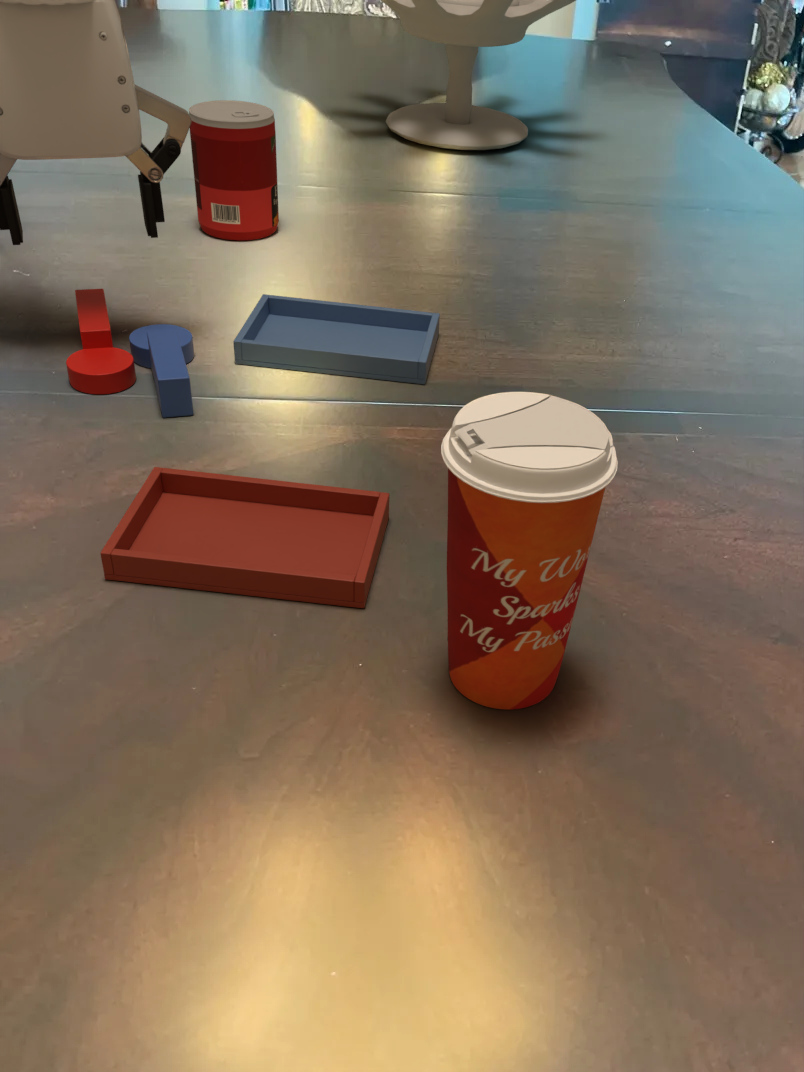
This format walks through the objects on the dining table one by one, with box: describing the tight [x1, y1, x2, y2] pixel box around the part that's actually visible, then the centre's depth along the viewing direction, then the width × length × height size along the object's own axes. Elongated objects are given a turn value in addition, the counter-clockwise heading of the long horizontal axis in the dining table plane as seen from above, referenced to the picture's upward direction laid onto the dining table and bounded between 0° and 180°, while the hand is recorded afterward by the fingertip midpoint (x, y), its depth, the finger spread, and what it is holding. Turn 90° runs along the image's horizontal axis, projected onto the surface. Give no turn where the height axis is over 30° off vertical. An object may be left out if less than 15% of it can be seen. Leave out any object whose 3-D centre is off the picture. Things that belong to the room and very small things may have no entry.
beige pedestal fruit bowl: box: [380, 0, 577, 151], centre depth 130 cm, size 34×35×27 cm
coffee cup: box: [440, 391, 619, 710], centre depth 53 cm, size 8×8×15 cm
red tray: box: [99, 466, 391, 609], centre depth 64 cm, size 15×10×2 cm, turn 85°
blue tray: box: [232, 293, 441, 385], centre depth 86 cm, size 15×10×2 cm, turn 85°
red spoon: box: [65, 288, 137, 395], centre depth 81 cm, size 13×5×3 cm, turn 19°
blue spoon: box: [128, 323, 195, 418], centre depth 80 cm, size 13×5×3 cm, turn 19°
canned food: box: [188, 99, 280, 241], centre depth 103 cm, size 8×8×11 cm
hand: (85, 235), depth 79 cm, fingers open, 9 cm apart
